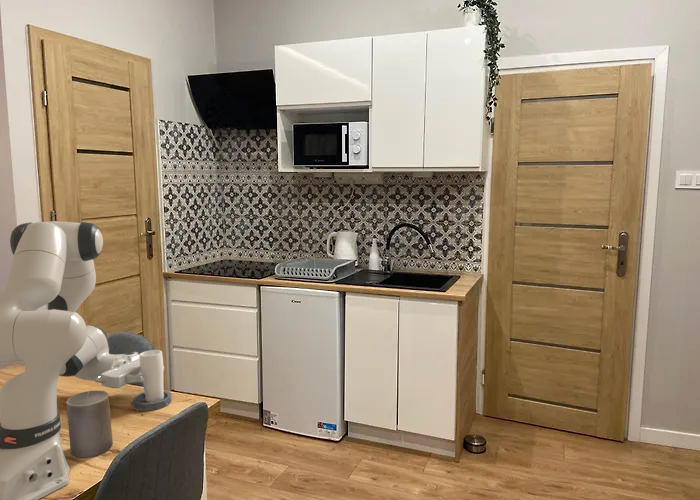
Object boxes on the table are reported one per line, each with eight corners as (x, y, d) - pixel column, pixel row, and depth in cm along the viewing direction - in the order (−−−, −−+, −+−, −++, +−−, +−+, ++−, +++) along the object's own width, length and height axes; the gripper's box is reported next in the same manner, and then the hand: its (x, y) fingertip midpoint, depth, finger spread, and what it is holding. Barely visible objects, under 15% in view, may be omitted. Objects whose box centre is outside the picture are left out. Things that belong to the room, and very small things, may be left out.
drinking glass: (138, 402, 163) (133, 355, 162) (155, 394, 169) (151, 348, 168) (154, 405, 160) (149, 357, 158) (171, 397, 166) (167, 350, 164)
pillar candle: (101, 436, 142) (97, 382, 140) (119, 447, 136) (115, 391, 134) (63, 450, 135) (58, 394, 133) (81, 463, 129) (75, 403, 127)
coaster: (156, 412, 157) (155, 406, 157) (125, 408, 160) (124, 401, 160) (178, 398, 168) (178, 392, 167) (149, 394, 171) (148, 388, 171)
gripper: (90, 370, 157) (129, 375, 152) (137, 350, 176) (173, 353, 172) (91, 390, 157) (130, 396, 153) (138, 368, 177) (174, 372, 173)
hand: (153, 373), depth 163 cm, fingers open, 8 cm apart
